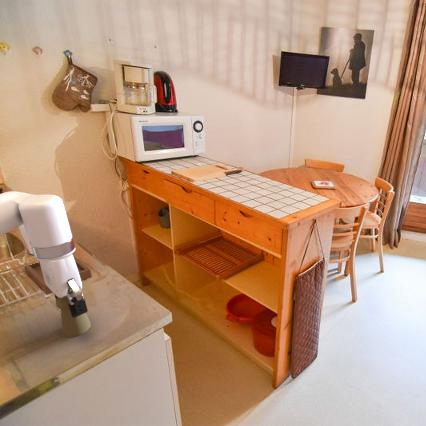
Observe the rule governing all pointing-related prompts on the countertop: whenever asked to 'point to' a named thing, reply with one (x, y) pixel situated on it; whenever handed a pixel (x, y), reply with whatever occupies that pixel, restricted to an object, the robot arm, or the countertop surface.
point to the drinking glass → (25, 238)
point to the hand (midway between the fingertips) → (71, 306)
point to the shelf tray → (37, 276)
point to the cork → (72, 319)
